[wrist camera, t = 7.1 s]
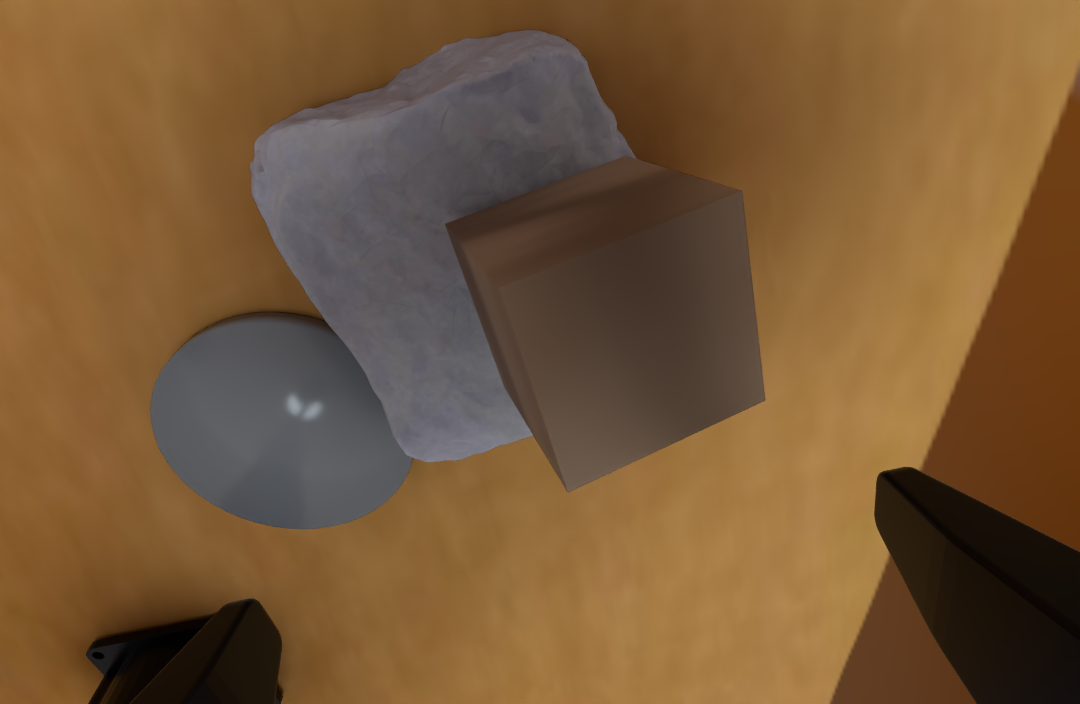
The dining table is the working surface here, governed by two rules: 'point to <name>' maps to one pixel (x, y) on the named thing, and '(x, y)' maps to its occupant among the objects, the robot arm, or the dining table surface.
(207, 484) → the slate coaster
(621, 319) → the walnut cube
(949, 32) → the dining table surface
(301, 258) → the stone block
